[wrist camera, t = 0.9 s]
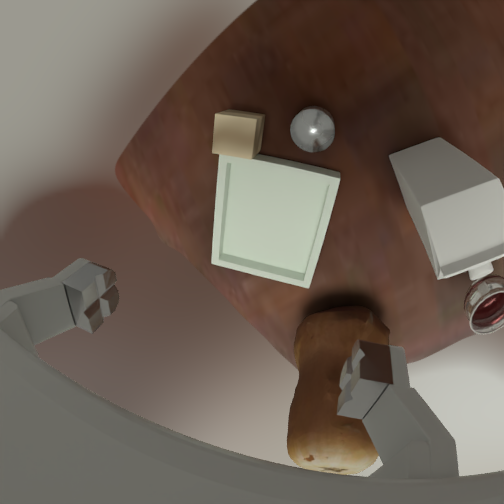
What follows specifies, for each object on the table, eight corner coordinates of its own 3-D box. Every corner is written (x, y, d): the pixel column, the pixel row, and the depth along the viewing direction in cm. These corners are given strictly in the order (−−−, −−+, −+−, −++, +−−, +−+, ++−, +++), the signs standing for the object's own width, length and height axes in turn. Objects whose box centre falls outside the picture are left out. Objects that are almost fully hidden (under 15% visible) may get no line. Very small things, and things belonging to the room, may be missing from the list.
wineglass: (449, 281, 37) (470, 342, 28) (440, 245, 35) (466, 304, 25) (486, 265, 34) (516, 322, 24) (480, 227, 32) (517, 281, 22)
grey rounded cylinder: (299, 102, 31) (294, 105, 27) (337, 110, 30) (338, 115, 26) (293, 137, 33) (287, 147, 29) (330, 146, 33) (329, 156, 28)
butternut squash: (323, 352, 51) (301, 485, 31) (285, 301, 47) (242, 453, 26) (396, 329, 44) (403, 475, 24) (368, 269, 40) (373, 443, 20)
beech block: (228, 109, 33) (215, 113, 29) (265, 114, 32) (256, 119, 29) (225, 144, 36) (212, 153, 32) (260, 150, 35) (251, 159, 31)
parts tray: (226, 148, 36) (219, 153, 34) (339, 172, 34) (340, 178, 32) (217, 254, 45) (211, 263, 43) (310, 277, 43) (308, 288, 41)
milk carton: (387, 154, 31) (435, 233, 16) (439, 136, 28) (524, 199, 13) (406, 207, 34) (449, 313, 18) (454, 189, 31) (525, 283, 15)
